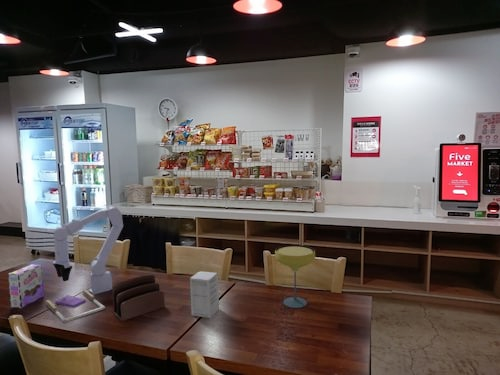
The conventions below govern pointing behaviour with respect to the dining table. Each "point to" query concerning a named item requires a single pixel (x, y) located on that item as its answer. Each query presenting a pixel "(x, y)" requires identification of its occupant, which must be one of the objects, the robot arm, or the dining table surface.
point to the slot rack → (56, 307)
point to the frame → (82, 313)
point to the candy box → (25, 285)
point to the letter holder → (137, 297)
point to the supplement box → (204, 294)
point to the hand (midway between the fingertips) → (63, 278)
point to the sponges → (70, 301)
